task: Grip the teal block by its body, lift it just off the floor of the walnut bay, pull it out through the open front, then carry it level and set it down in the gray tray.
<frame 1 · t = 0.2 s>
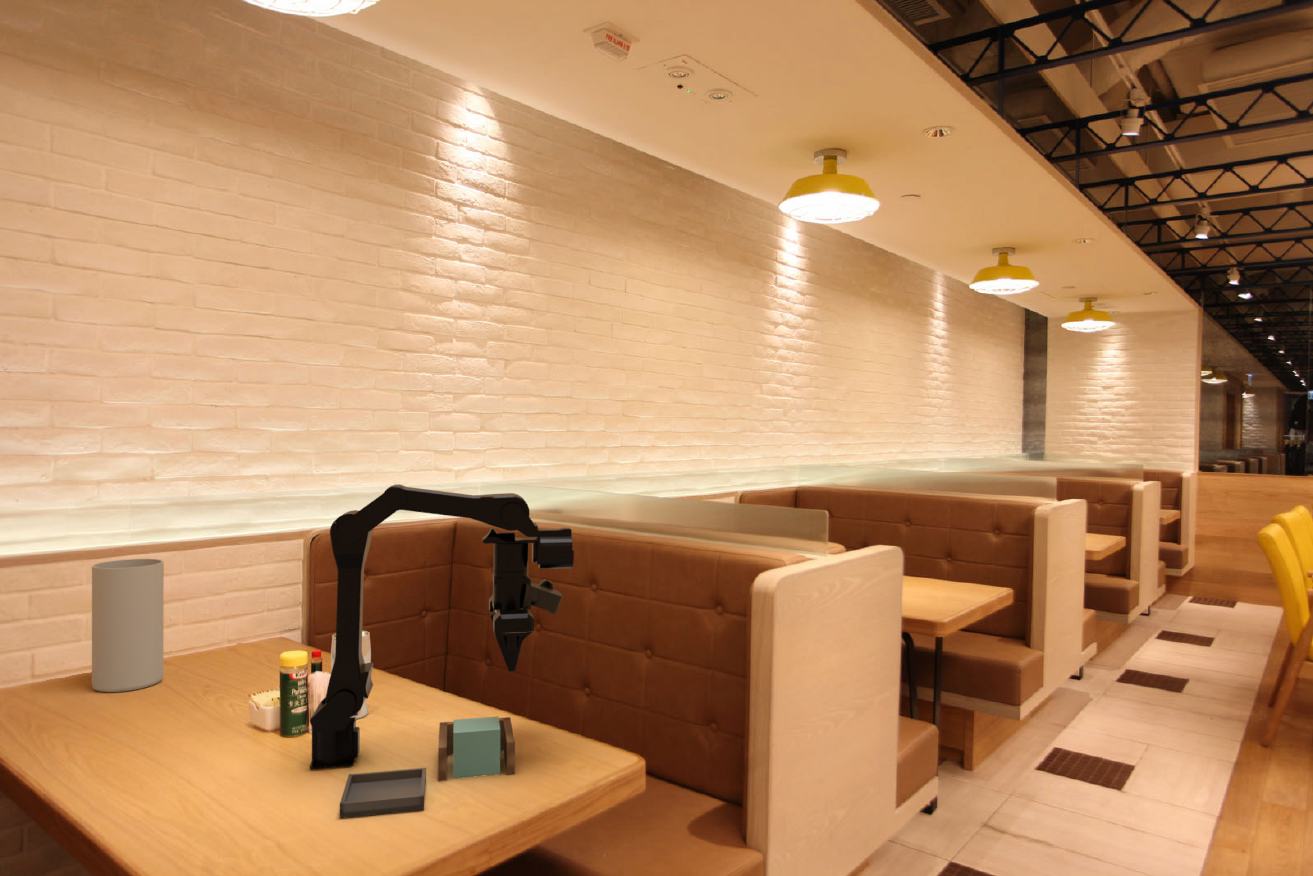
hand: (509, 663, 138), 14 cm above the table, tool pointing down, fingers open, 9 cm apart
beer glass: (350, 716, 154), on the table
gray tray: (385, 798, 119), on the table
teal block: (476, 769, 130), on the table
walnut bay: (476, 768, 130), on the table
cylinder vase: (128, 685, 172), on the table
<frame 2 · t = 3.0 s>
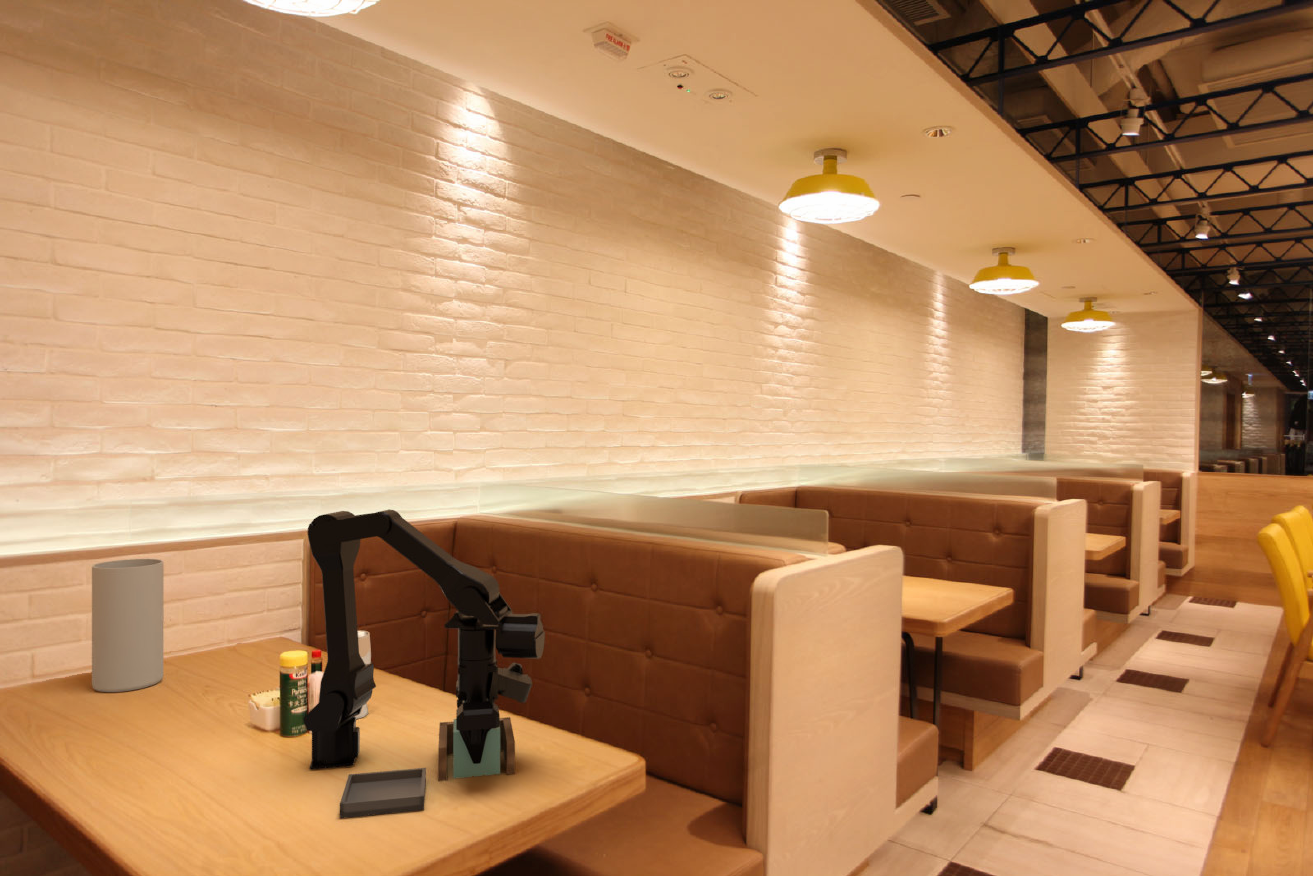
hand: (476, 755, 130), 2 cm above the table, tool pointing down, fingers closed on teal block, 6 cm apart
teal block: (476, 768, 130), on the table, touching gripper
everything else where it was.
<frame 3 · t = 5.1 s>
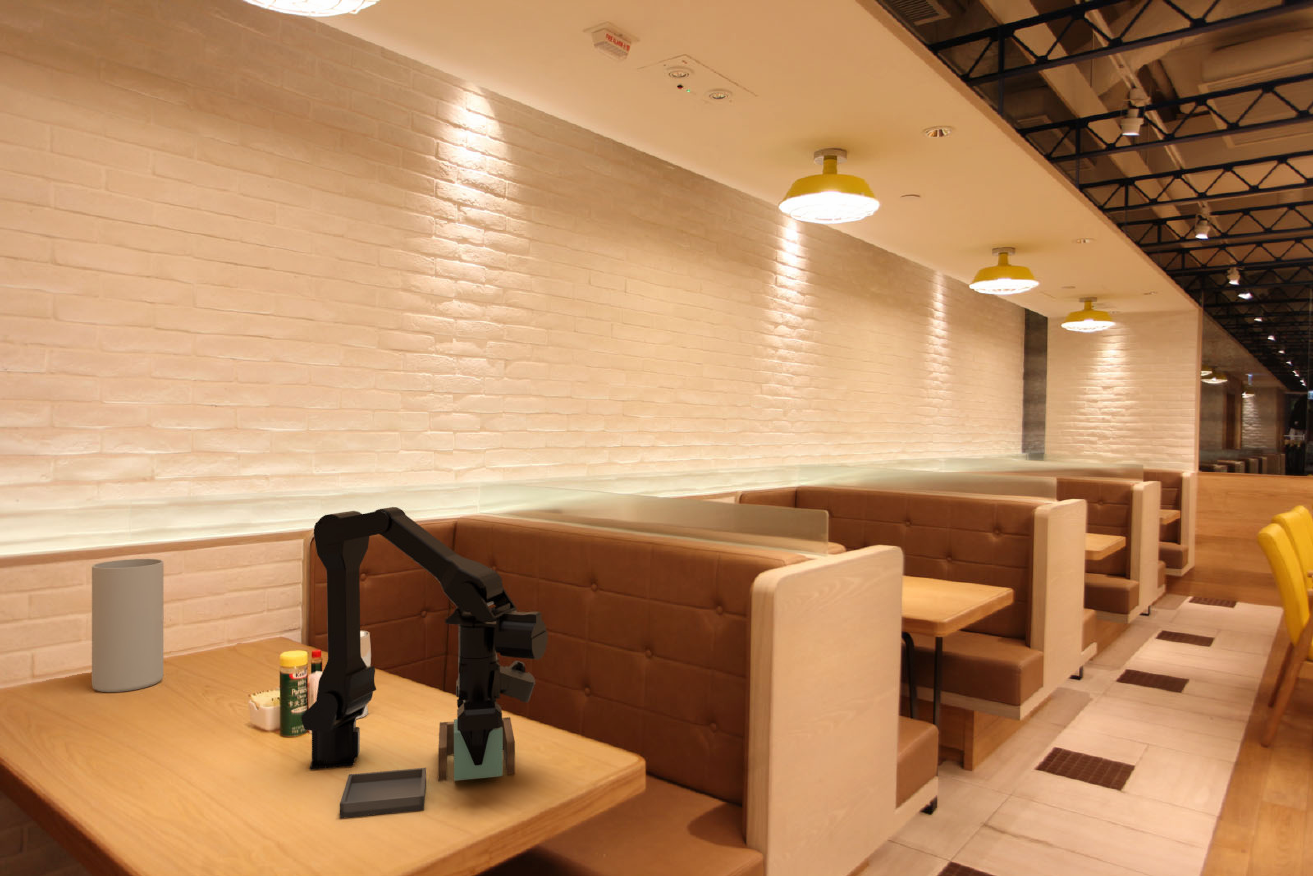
hand: (477, 756, 125), 4 cm above the table, tool pointing down, fingers closed on teal block, 6 cm apart
teal block: (477, 770, 125), point 2 cm above the table, touching gripper
everything else where it was.
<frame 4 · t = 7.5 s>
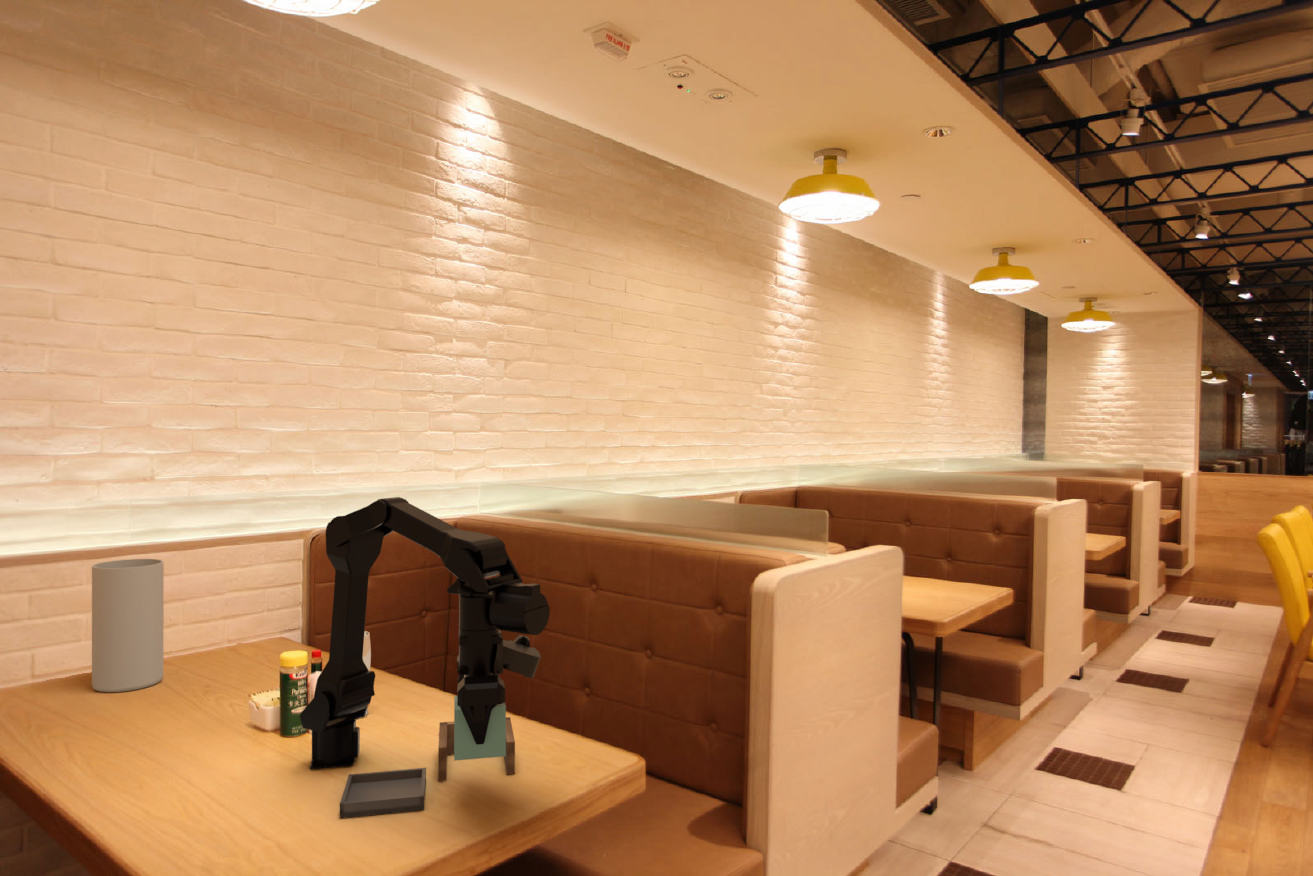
hand: (479, 735, 118), 9 cm above the table, tool pointing down, fingers closed on teal block, 6 cm apart
teal block: (479, 750, 118), point 7 cm above the table, touching gripper
everything else where it was.
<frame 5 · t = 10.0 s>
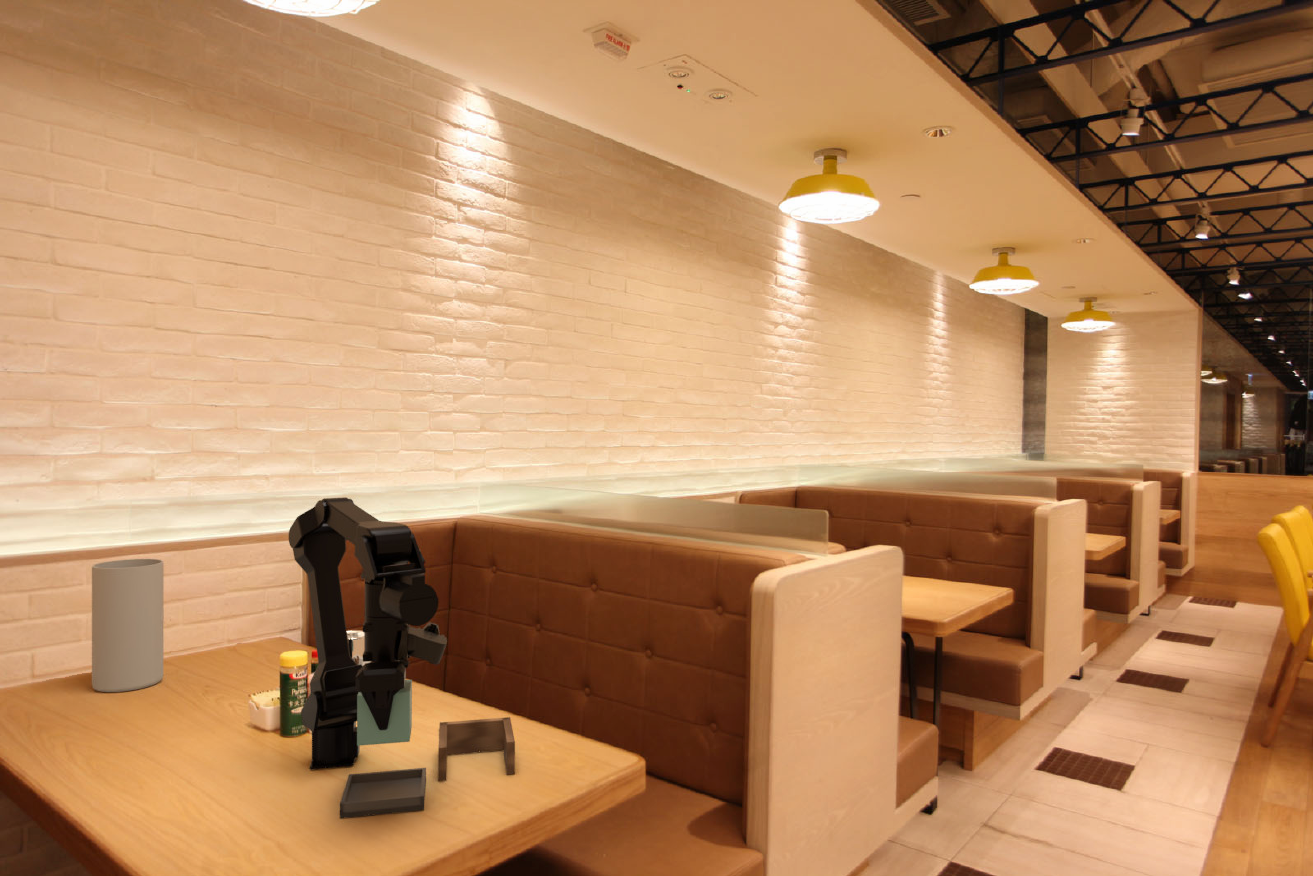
hand: (385, 722, 119), 11 cm above the table, tool pointing down, fingers closed on teal block, 6 cm apart
teal block: (385, 736, 119), point 9 cm above the table, touching gripper
everything else where it was.
when the fingers open (4 cm above the table, at t = 12.3 s): teal block drops 1 cm, resting on gray tray.
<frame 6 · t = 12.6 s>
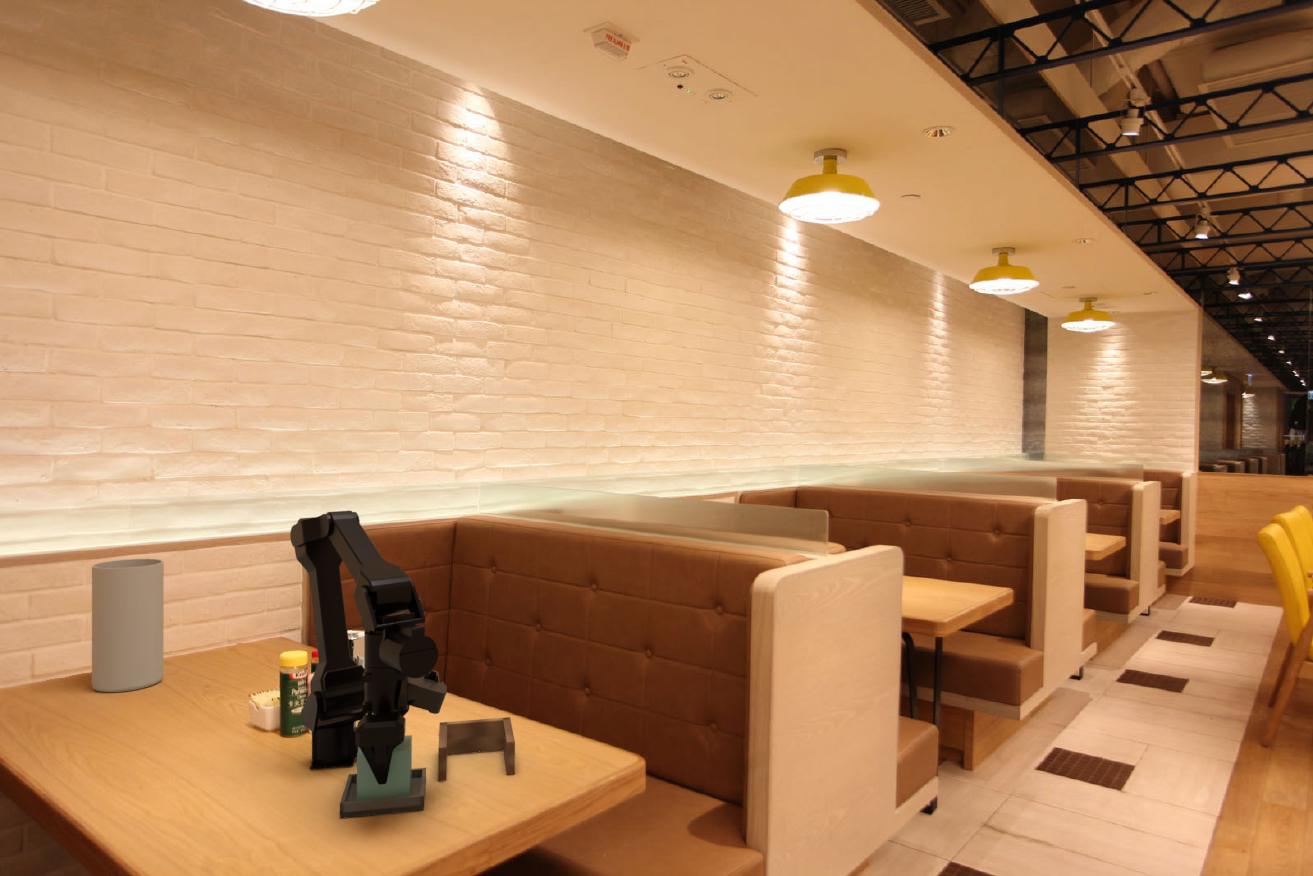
hand: (385, 771, 119), 4 cm above the table, tool pointing down, fingers open, 9 cm apart
teal block: (385, 793, 119), point 1 cm above the table, touching gray tray
everything else where it was.
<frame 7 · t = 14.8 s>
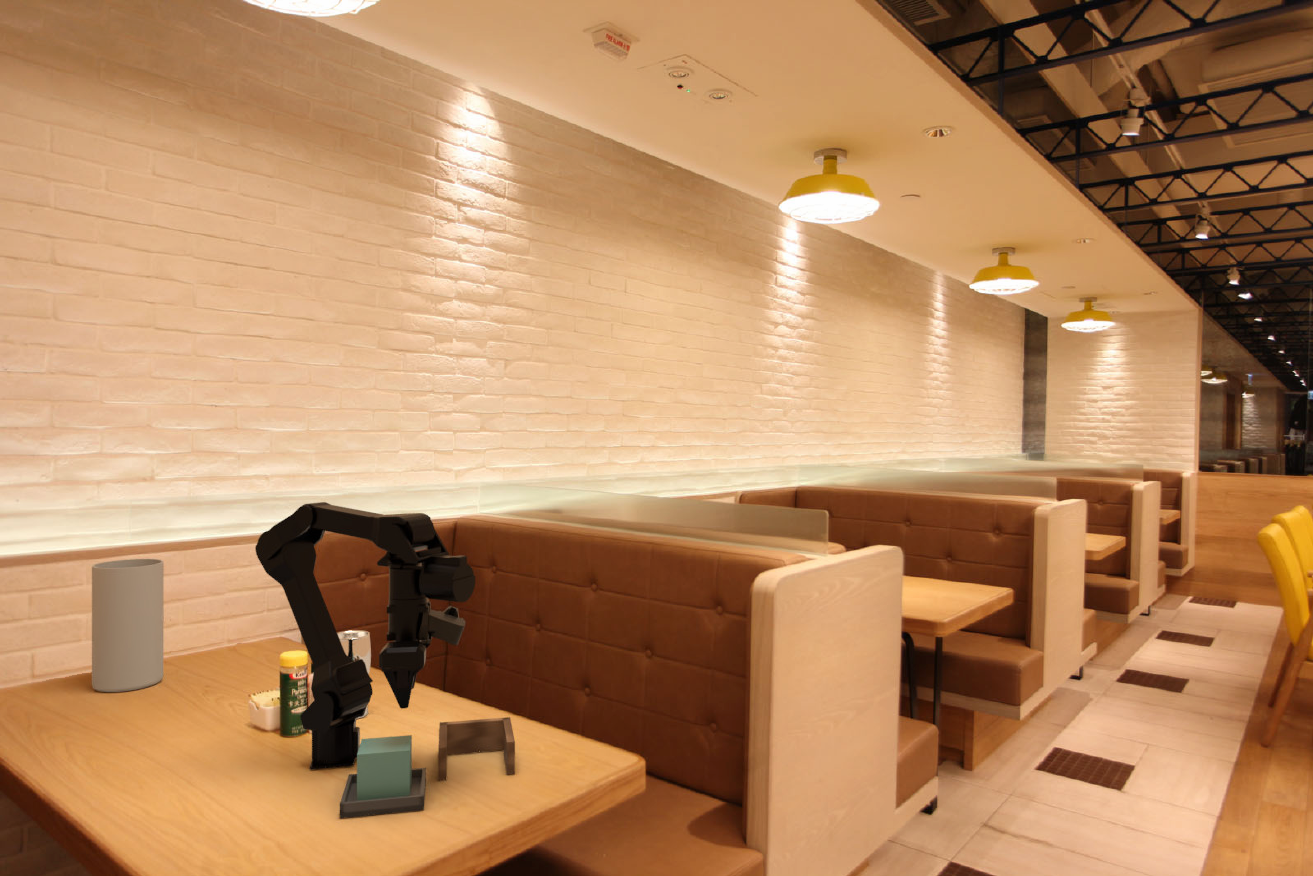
hand: (407, 698, 127), 12 cm above the table, tool pointing down, fingers open, 9 cm apart
nothing on the table moved.
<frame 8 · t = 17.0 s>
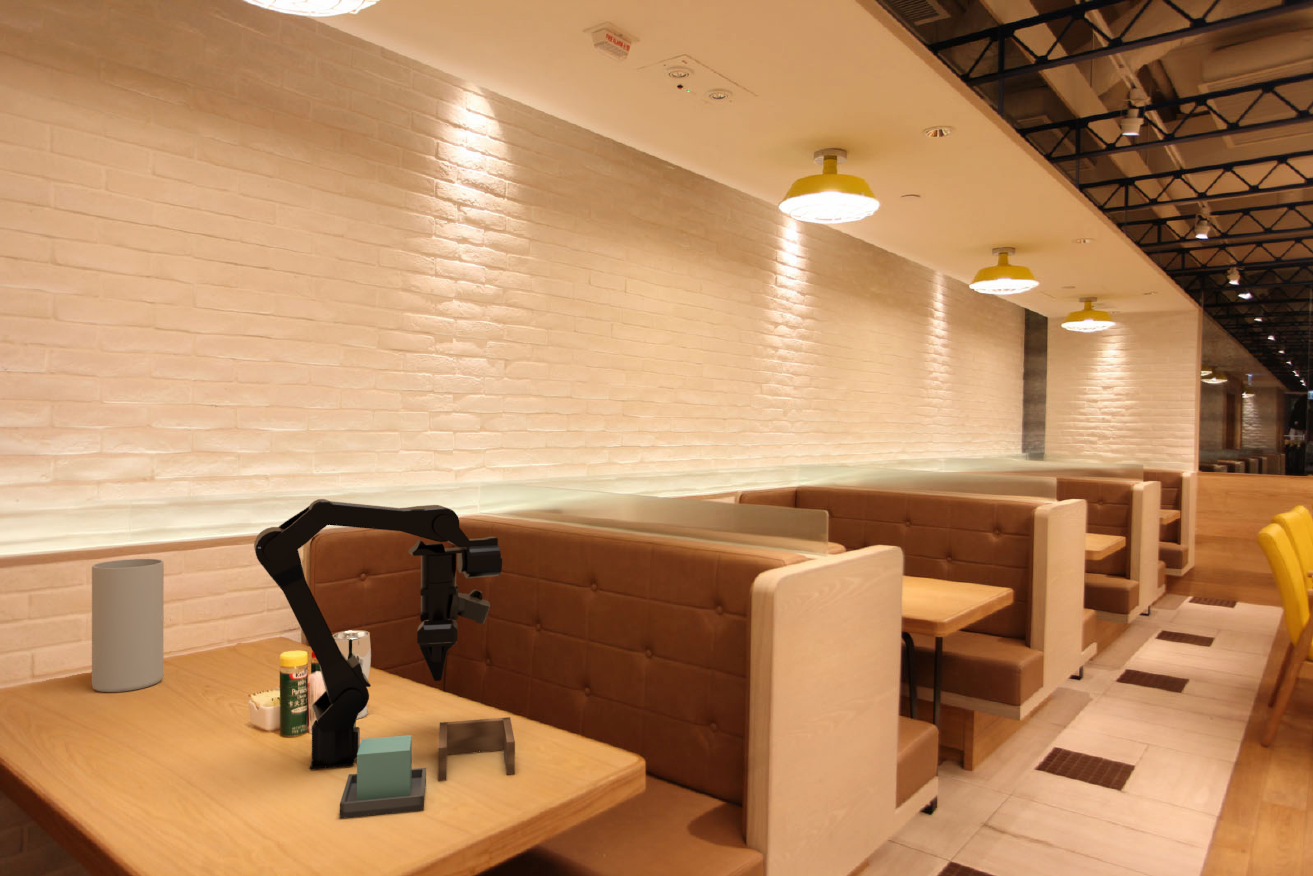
hand: (438, 672, 140), 12 cm above the table, tool pointing down, fingers open, 9 cm apart
nothing on the table moved.
at the end: teal block 0.0 cm off-centre on the gray tray, point 0.8 cm above the gray tray's base; teal block tilted 0°; the gripper is holding nothing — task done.
